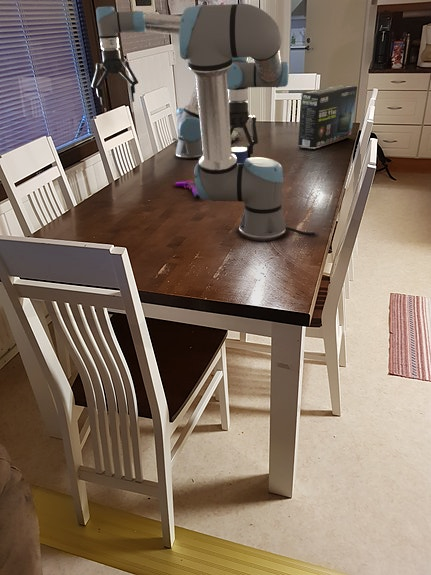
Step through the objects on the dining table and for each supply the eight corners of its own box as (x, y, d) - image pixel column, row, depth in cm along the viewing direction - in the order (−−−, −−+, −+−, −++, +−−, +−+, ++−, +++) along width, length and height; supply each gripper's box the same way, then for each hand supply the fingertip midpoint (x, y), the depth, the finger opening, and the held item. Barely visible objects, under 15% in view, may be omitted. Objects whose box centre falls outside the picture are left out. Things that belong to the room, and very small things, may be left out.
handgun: (174, 185, 194) (174, 180, 193) (192, 183, 195) (192, 178, 194) (181, 201, 176) (180, 197, 175) (200, 199, 177) (200, 194, 176)
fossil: (231, 137, 247) (212, 119, 250) (221, 153, 253) (203, 136, 256) (247, 135, 260) (230, 119, 264) (237, 151, 267) (220, 135, 270)
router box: (314, 151, 231) (318, 94, 217) (296, 148, 237) (299, 92, 224) (352, 138, 251) (358, 85, 238) (335, 135, 258) (340, 83, 245)
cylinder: (251, 167, 179) (252, 148, 175) (238, 172, 174) (238, 153, 171) (237, 163, 183) (237, 145, 180) (224, 168, 179) (223, 149, 175)
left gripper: (82, 51, 186) (91, 107, 197) (141, 48, 194) (147, 101, 205) (79, 51, 192) (88, 104, 203) (136, 47, 200) (142, 99, 211)
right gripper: (262, 97, 170) (261, 158, 182) (208, 101, 168) (210, 163, 180) (267, 100, 164) (266, 164, 176) (211, 104, 162) (213, 168, 173)
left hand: (117, 103), depth 204 cm, fingers open, 13 cm apart
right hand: (238, 163), depth 178 cm, fingers closed on cylinder, 8 cm apart
